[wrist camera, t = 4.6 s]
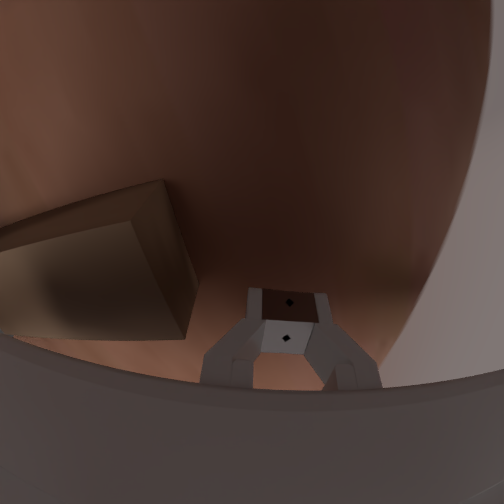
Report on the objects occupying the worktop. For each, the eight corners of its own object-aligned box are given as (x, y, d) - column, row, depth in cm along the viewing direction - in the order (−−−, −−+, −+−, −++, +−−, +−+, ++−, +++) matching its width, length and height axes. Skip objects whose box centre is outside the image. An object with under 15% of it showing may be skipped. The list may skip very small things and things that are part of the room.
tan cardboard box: (-7, 229, 12) (-42, 265, 9) (165, 175, 11) (130, 220, 8) (30, 295, 15) (4, 334, 12) (200, 279, 13) (185, 339, 11)
